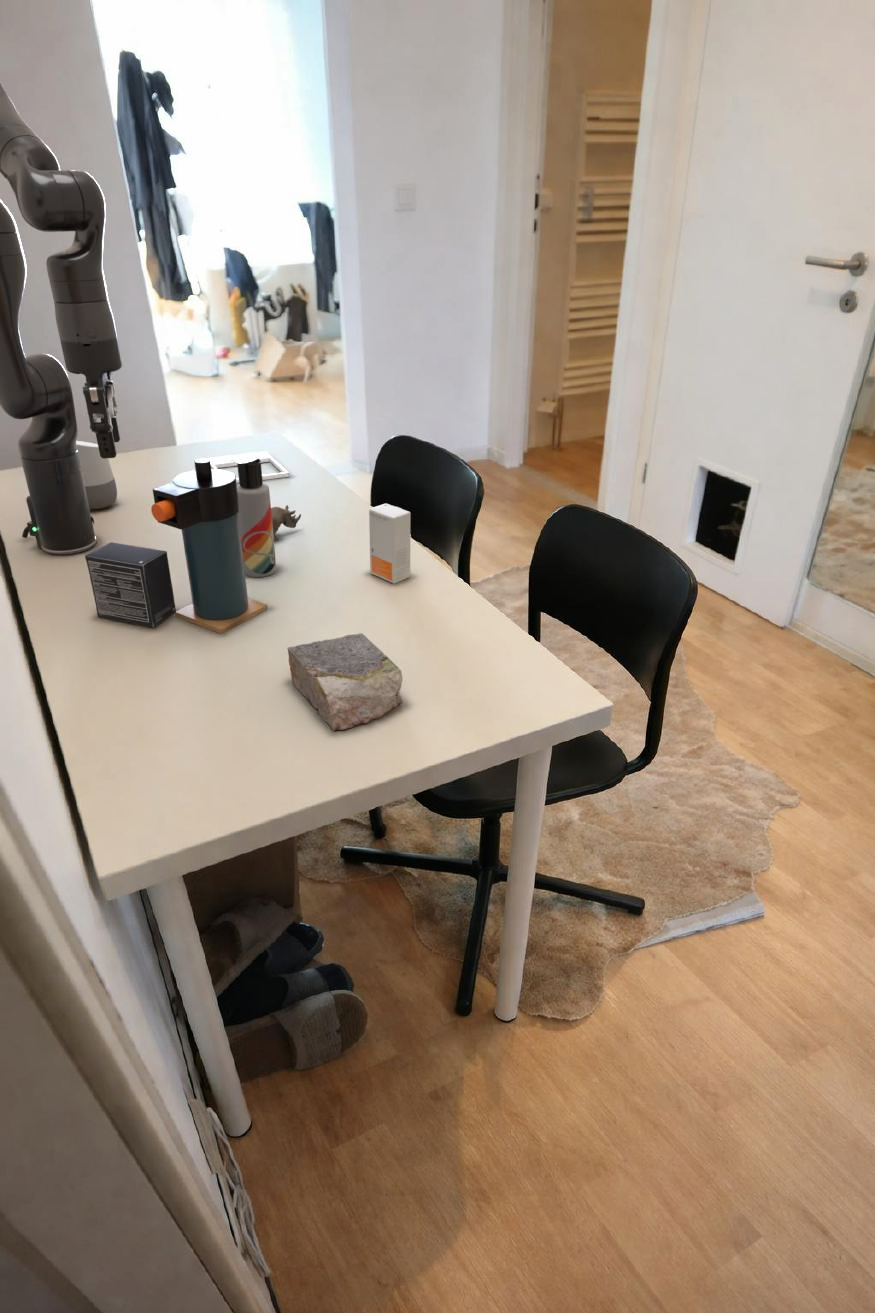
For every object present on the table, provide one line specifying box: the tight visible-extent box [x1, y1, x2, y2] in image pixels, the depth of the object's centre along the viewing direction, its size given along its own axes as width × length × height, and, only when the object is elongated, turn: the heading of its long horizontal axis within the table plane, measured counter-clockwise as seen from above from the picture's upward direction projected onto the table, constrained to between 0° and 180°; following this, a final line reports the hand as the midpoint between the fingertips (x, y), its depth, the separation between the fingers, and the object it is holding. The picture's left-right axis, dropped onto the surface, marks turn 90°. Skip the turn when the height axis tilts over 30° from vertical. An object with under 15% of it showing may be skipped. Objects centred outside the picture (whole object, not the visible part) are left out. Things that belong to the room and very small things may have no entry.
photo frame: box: [206, 451, 290, 484], centre depth 191 cm, size 15×1×18 cm
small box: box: [84, 542, 177, 629], centre depth 126 cm, size 11×6×10 cm, turn 71°
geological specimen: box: [287, 632, 403, 731], centre depth 109 cm, size 11×6×15 cm
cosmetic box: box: [368, 502, 412, 585], centre depth 140 cm, size 6×4×12 cm
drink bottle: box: [152, 457, 249, 620], centre depth 122 cm, size 12×9×24 cm
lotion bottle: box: [237, 457, 277, 578], centre depth 139 cm, size 6×6×20 cm
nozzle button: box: [150, 499, 176, 522], centre depth 115 cm, size 3×3×3 cm
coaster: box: [174, 597, 268, 635], centre depth 130 cm, size 10×10×1 cm
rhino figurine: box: [271, 504, 302, 542], centre depth 155 cm, size 4×14×6 cm, turn 131°
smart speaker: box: [76, 440, 118, 512], centre depth 166 cm, size 10×9×14 cm
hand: (111, 449), depth 124 cm, fingers open, 8 cm apart
